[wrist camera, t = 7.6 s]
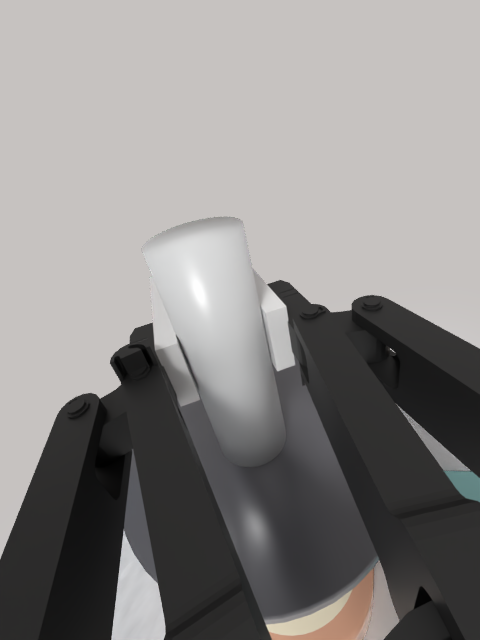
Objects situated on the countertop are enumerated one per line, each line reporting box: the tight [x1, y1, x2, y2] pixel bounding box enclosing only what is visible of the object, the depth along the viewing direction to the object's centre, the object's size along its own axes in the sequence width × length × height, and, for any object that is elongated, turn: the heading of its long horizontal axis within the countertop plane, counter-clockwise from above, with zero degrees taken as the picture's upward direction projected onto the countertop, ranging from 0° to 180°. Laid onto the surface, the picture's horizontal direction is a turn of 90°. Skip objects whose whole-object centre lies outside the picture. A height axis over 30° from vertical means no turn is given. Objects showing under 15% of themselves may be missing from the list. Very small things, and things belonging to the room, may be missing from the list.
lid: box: [124, 217, 379, 625], centre depth 13 cm, size 13×13×11 cm
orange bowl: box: [266, 568, 374, 640], centre depth 22 cm, size 11×11×5 cm
